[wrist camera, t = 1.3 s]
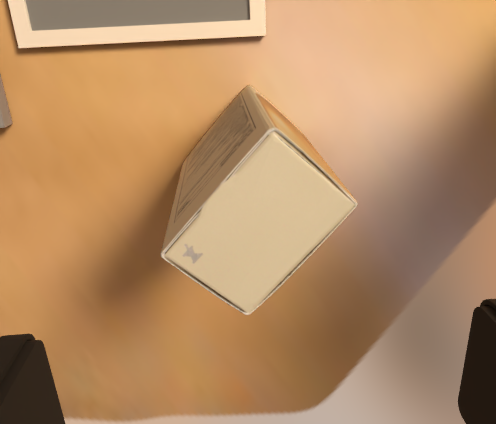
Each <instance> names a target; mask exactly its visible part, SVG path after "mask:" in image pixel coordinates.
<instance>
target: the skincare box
mask: <svg viewBox="0 0 496 424" xmlns="http://www.w3.org/2000/svg"><path fill="white" fill-rule="evenodd" d="M357 205H358V203H357V201H356V200H355V198H354V197H353V196H352V195H351V193H350V192H349V191H348V190H347V189H346V187H345V186H344V185H343V184H342V182H341V181H340V180H339V179H338V177H337V176H336V175H335V174H334V172H333V171H332V170H331V168H330V167H329V166H328V165H327V163H326V162H325V161H324V160H323V158H322V157H321V156H320V155H319V153H318V152H317V151H316V150H315V148H314V147H313V146H312V144H311V143H310V142H309V141H308V139H307V138H306V137H305V136H304V134H303V133H302V132H301V131H300V130H299V129H298V128H297V127H296V126H295V125H294V124H293V123H292V122H291V121H290V120H289V119H288V118H287V117H286V116H285V115H284V114H283V113H282V112H280V111H279V110H278V109H277V108H276V107H275V106H274V105H273V104H272V103H271V102H270V101H269V100H267V99H266V98H265V97H264V96H263V95H262V94H261V93H259V92H258V91H257V90H256V89H255V88H254V87H253V86H250V85H248V86H246V87H245V88H244V89H243V90H242V91H241V92H240V94H239V95H238V96H237V97H236V98H235V99H234V100H233V101H232V103H231V104H230V105H229V106H228V107H227V108H226V110H225V111H224V112H223V113H222V114H221V115H220V117H219V118H218V119H217V120H216V122H215V123H214V124H213V125H212V126H211V128H210V129H209V130H208V131H207V132H206V134H205V135H204V136H203V137H202V139H201V140H200V141H199V142H198V144H197V145H196V146H195V148H194V149H193V150H192V151H191V153H190V154H189V155H188V157H187V158H186V159H185V161H184V162H183V165H182V169H181V173H180V178H179V182H178V186H177V190H176V194H175V198H174V202H173V206H172V210H171V214H170V218H169V222H168V226H167V230H166V234H165V238H164V242H163V246H162V250H161V257H162V258H163V259H164V260H166V261H167V262H169V263H170V264H172V265H173V266H175V267H176V268H177V269H178V270H180V271H181V272H182V273H184V274H186V275H187V276H188V277H190V278H191V279H192V280H194V281H195V282H197V283H198V284H200V285H201V286H202V287H204V288H205V289H207V290H208V291H209V292H211V293H212V294H214V295H215V296H217V297H218V298H220V299H221V300H222V301H224V302H226V303H227V304H229V305H230V306H232V307H234V308H236V309H237V310H239V311H240V312H242V313H243V314H245V315H250V314H251V313H252V312H253V311H255V310H256V309H257V308H258V307H259V306H260V305H262V303H263V302H265V301H266V300H267V299H268V298H269V297H270V296H271V295H272V294H273V293H274V292H275V291H276V290H277V289H278V288H279V287H280V286H281V285H283V284H284V283H285V282H286V280H287V279H288V278H289V277H290V276H291V275H292V274H293V273H294V272H295V271H296V270H297V269H298V268H299V267H300V266H301V265H302V264H303V263H304V262H305V261H306V260H307V259H308V258H309V257H310V256H311V255H312V254H313V253H314V252H315V251H316V250H317V249H318V248H319V247H320V246H321V245H322V243H323V242H324V241H325V240H326V239H327V238H328V237H329V236H330V235H331V234H332V233H333V232H334V231H335V230H336V228H337V227H338V226H340V224H341V223H342V222H343V221H344V220H345V219H346V218H347V217H348V216H349V214H350V213H351V212H352V211H353V210H354V209H355V208H356V207H357Z"/></svg>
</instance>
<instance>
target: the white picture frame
mask: <svg viewBox="0 0 496 424" xmlns="http://www.w3.org/2000/svg"><path fill="white" fill-rule="evenodd" d="M8 4H9V8H10V12H11V17H12V21H13V26H14V30H15V34H16V39H17V43H18V47H19V48H31V47H51V46H70V45H90V44H109V43H129V42H149V41H168V40H188V39H208V38H227V37H247V36H266V14H265V0H8Z"/></svg>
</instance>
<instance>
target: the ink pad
mask: <svg viewBox="0 0 496 424" xmlns="http://www.w3.org/2000/svg"><path fill="white" fill-rule="evenodd" d="M11 124H13V123H12V119H11V115H10V111H9V107H8V103H7V99H6V95H5V91H4V87H3V83H2V79H1V75H0V128H5V127H7V126H9V125H11Z"/></svg>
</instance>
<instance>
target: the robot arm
mask: <svg viewBox="0 0 496 424" xmlns="http://www.w3.org/2000/svg"><path fill="white" fill-rule="evenodd" d="M458 406H459V410H460V413H461V416H462V418H463V419H464V421H465V423H466V424H496V299H486V300H484V301H483V302H482V303H481V305H480V307H477V308H475V310H474V312H473V317H472V323H471V328H470V334H469V340H468V345H467V351H466V357H465V363H464V368H463V375H462V380H461V386H460V392H459V397H458ZM0 424H65V421H64V417H63V413H62V410H61V406H60V402H59V399H58V395H57V391H56V388H55V384H54V380H53V377H52V373H51V369H50V366H49V362H48V358H47V355H46V351H45V347H44V344H43V342H42V341H41V340H35V338H34V336H33V335H32V334H20V335H7V336H2V337H0Z"/></svg>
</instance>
